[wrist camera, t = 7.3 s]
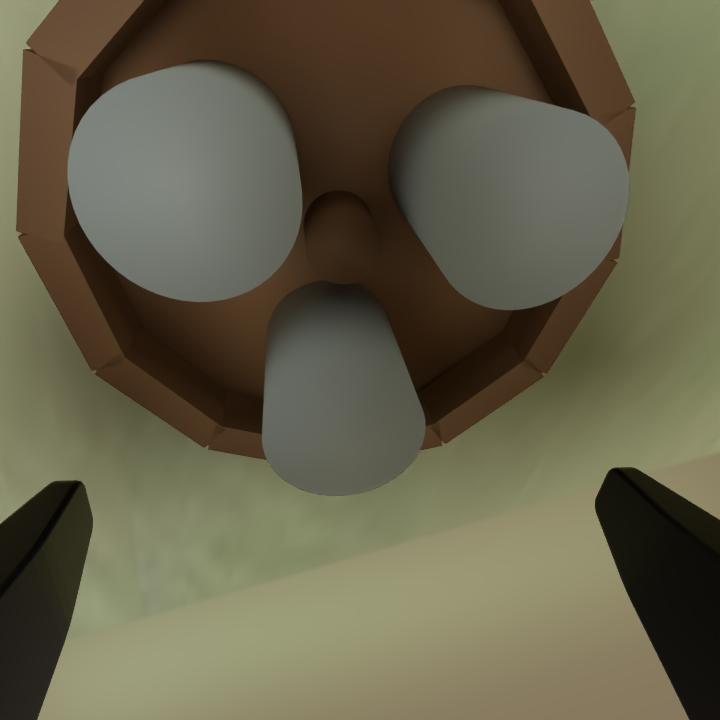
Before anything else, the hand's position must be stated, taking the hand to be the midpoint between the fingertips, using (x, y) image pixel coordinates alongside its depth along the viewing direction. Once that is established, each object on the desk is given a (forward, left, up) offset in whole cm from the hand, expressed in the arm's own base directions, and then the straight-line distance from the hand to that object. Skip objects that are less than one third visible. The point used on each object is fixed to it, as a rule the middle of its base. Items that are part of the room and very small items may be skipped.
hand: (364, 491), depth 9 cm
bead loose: (0, 0, -6) cm, 6 cm away
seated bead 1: (+1, +5, -6) cm, 8 cm away
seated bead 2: (+5, +1, -6) cm, 7 cm away
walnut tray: (+2, +2, -6) cm, 7 cm away
